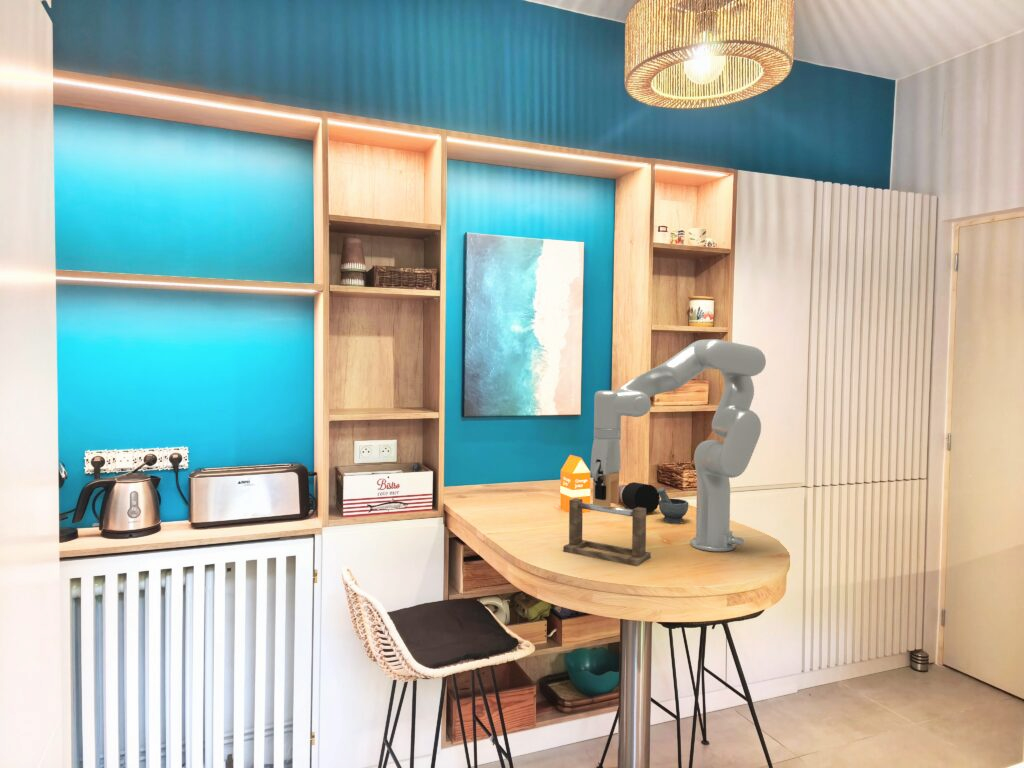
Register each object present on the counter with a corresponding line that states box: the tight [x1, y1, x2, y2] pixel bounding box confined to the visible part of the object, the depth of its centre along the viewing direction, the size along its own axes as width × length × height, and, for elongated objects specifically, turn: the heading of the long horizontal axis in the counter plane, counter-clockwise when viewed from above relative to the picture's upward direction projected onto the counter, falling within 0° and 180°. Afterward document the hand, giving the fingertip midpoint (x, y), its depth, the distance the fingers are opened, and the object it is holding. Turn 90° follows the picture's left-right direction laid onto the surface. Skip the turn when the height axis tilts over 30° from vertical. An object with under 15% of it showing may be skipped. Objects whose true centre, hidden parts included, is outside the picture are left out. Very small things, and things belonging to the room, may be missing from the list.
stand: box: [562, 498, 652, 567], centre depth 186 cm, size 23×9×14 cm, turn 55°
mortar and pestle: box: [657, 486, 689, 525], centre depth 224 cm, size 11×9×12 cm
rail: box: [578, 502, 633, 518], centre depth 186 cm, size 21×2×2 cm, turn 55°
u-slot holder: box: [592, 471, 620, 507], centre depth 186 cm, size 5×6×9 cm
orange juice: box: [559, 454, 592, 514], centre depth 240 cm, size 8×9×20 cm
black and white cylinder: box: [619, 481, 661, 514], centre depth 250 cm, size 10×34×10 cm, turn 16°
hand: (606, 496), depth 186 cm, fingers closed on u-slot holder, 6 cm apart
